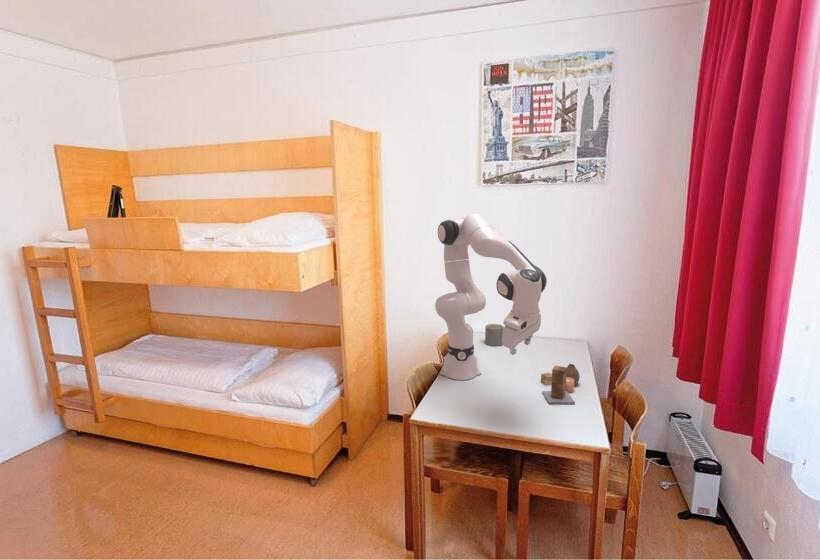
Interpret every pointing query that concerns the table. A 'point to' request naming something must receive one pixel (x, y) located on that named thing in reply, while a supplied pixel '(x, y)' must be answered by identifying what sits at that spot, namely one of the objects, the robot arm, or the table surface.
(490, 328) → the coffee mug
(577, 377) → the vase
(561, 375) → the walnut block
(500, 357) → the table surface
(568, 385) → the peach rounded cylinder
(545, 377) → the oak cube
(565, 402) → the grey pad
